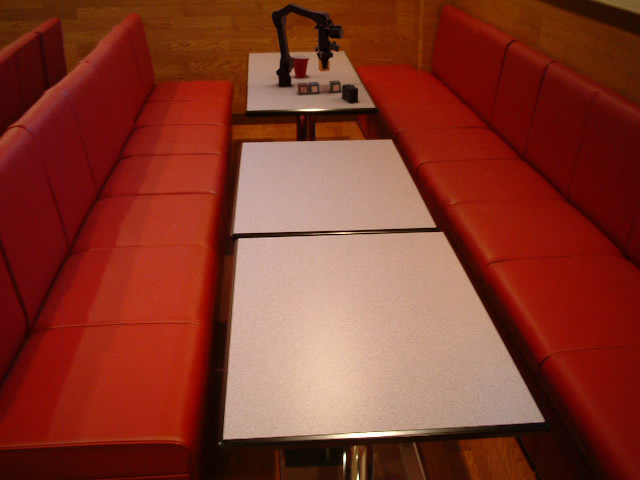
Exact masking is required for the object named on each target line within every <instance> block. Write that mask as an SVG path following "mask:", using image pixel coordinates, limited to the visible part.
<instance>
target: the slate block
mask: <svg viewBox="0 0 640 480" xmlns="http://www.w3.org/2000/svg"><path fill="white" fill-rule="evenodd" d="M307 84H308V94H309V95H319V94H320V83H319V82H318V81H309V82H307Z"/></svg>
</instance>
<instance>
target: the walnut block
mask: <svg viewBox="0 0 640 480" xmlns="http://www.w3.org/2000/svg"><path fill="white" fill-rule="evenodd" d="M296 84H297V85H296V86H297V94H298V95H299V96H303V95H309V92H308V82H297V83H296Z"/></svg>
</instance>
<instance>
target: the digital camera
mask: <svg viewBox="0 0 640 480" xmlns="http://www.w3.org/2000/svg"><path fill="white" fill-rule="evenodd" d="M341 99H342V100H344V101H346V102H348V103H349V104H355V103H356V104H357V103H359V88H358V87H356V86H355V85H354V84H351V83H347V84H341Z"/></svg>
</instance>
